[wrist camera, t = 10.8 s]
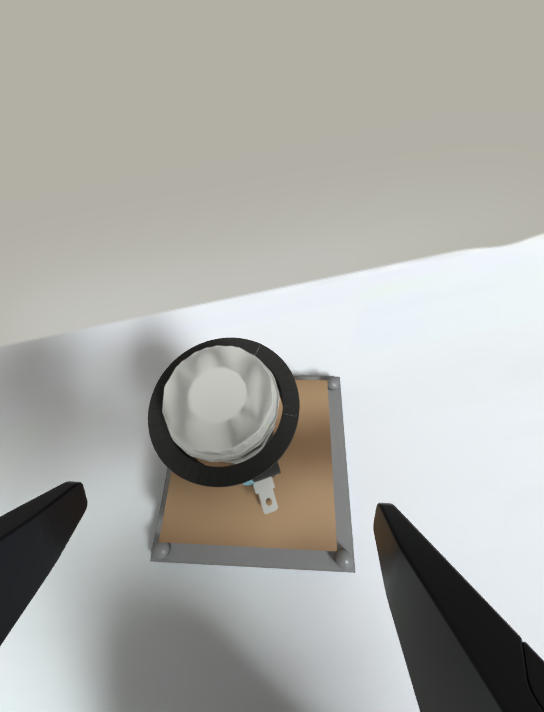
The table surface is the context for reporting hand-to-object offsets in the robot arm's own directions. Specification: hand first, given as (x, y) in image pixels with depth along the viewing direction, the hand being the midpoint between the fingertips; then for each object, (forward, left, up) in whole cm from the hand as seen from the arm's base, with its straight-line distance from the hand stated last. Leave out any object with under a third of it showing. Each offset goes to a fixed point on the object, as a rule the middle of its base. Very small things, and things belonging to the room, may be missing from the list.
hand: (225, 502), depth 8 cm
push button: (+2, +1, -9) cm, 10 cm away
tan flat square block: (+2, +2, -12) cm, 12 cm away
